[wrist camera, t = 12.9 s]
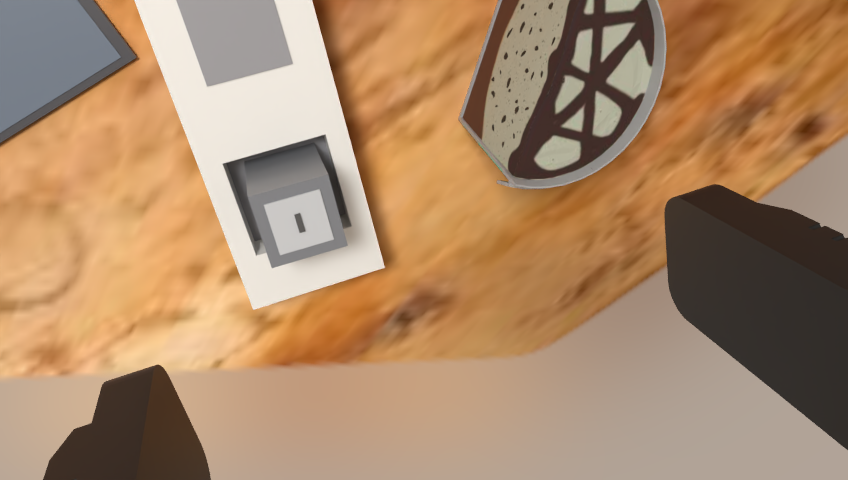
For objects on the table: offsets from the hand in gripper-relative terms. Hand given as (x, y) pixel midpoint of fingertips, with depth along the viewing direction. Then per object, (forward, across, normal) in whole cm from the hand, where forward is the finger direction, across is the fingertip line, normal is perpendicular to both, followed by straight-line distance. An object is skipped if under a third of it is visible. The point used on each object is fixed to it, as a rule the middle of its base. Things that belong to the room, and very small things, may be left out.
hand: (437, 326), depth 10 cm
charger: (+29, +2, +7) cm, 30 cm away
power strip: (+30, +2, 0) cm, 30 cm away
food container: (+30, -14, +4) cm, 34 cm away
